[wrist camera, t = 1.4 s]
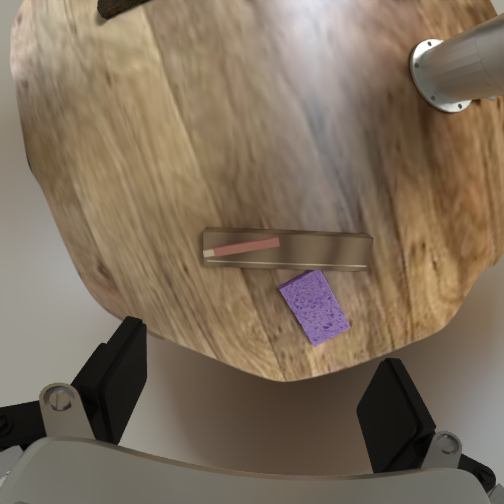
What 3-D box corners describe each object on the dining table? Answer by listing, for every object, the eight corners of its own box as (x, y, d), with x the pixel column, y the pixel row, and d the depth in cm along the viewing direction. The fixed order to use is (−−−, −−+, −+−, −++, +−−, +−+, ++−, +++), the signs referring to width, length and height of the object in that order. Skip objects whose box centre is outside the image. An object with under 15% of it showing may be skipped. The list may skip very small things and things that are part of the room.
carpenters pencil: (278, 236, 42) (278, 237, 41) (279, 244, 42) (279, 246, 41) (203, 248, 43) (202, 250, 42) (205, 256, 43) (204, 258, 42)
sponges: (312, 341, 51) (313, 347, 49) (277, 284, 47) (278, 289, 45) (348, 322, 49) (351, 328, 47) (317, 262, 46) (319, 267, 44)
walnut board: (367, 233, 44) (373, 238, 41) (363, 265, 45) (368, 271, 43) (206, 227, 44) (202, 232, 42) (206, 259, 46) (203, 266, 43)
